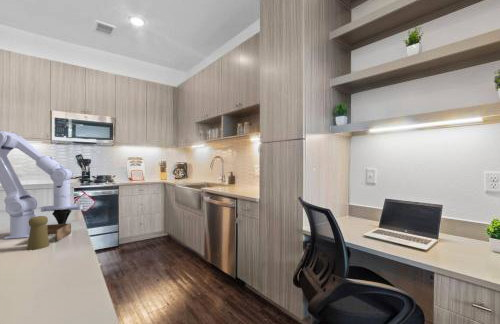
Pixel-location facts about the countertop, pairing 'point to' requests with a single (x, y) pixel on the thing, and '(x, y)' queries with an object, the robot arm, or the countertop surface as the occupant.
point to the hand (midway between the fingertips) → (62, 227)
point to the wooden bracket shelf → (59, 230)
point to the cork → (38, 233)
